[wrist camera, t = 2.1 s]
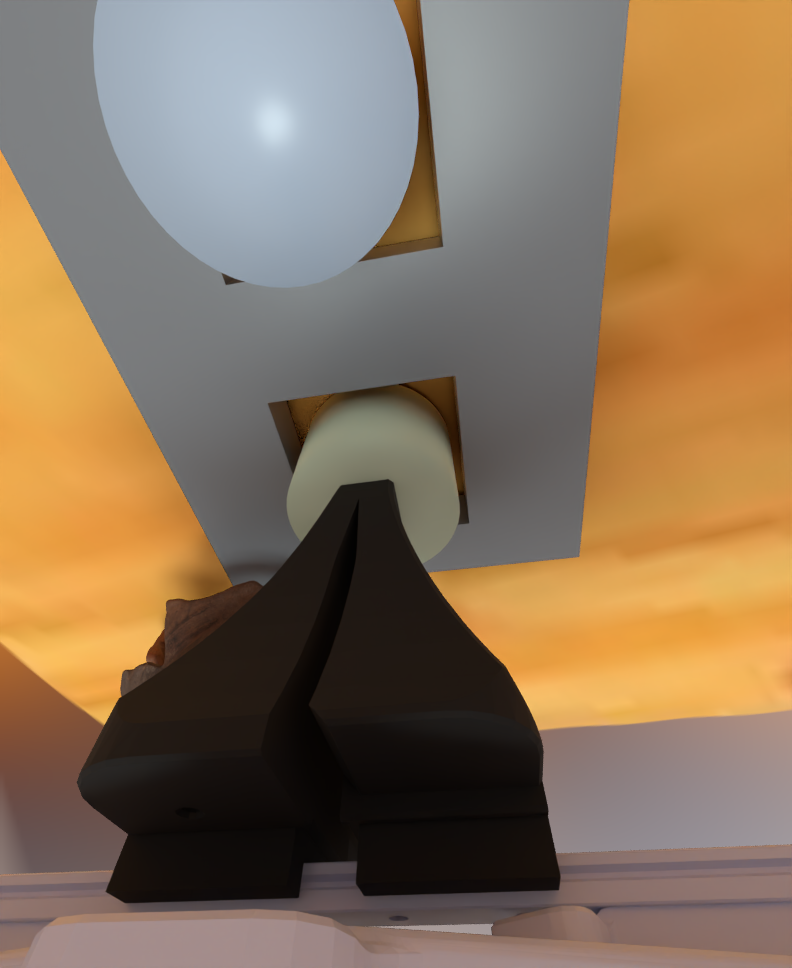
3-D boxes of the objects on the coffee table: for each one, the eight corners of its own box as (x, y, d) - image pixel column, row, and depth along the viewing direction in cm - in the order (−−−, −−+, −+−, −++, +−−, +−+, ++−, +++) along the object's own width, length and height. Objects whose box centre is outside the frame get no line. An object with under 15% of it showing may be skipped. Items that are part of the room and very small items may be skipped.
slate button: (394, -68, 8) (389, -177, 5) (427, 233, 10) (435, 263, 8) (143, -4, 8) (19, -76, 5) (234, 268, 11) (180, 307, 8)
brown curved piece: (103, 584, 20) (19, 715, 12) (309, 484, 21) (352, 541, 14) (239, 778, 23) (243, 971, 16) (404, 678, 25) (478, 807, 18)
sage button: (442, 371, 13) (451, 427, 10) (455, 496, 16) (465, 565, 13) (289, 393, 14) (262, 452, 11) (327, 511, 16) (312, 581, 13)
